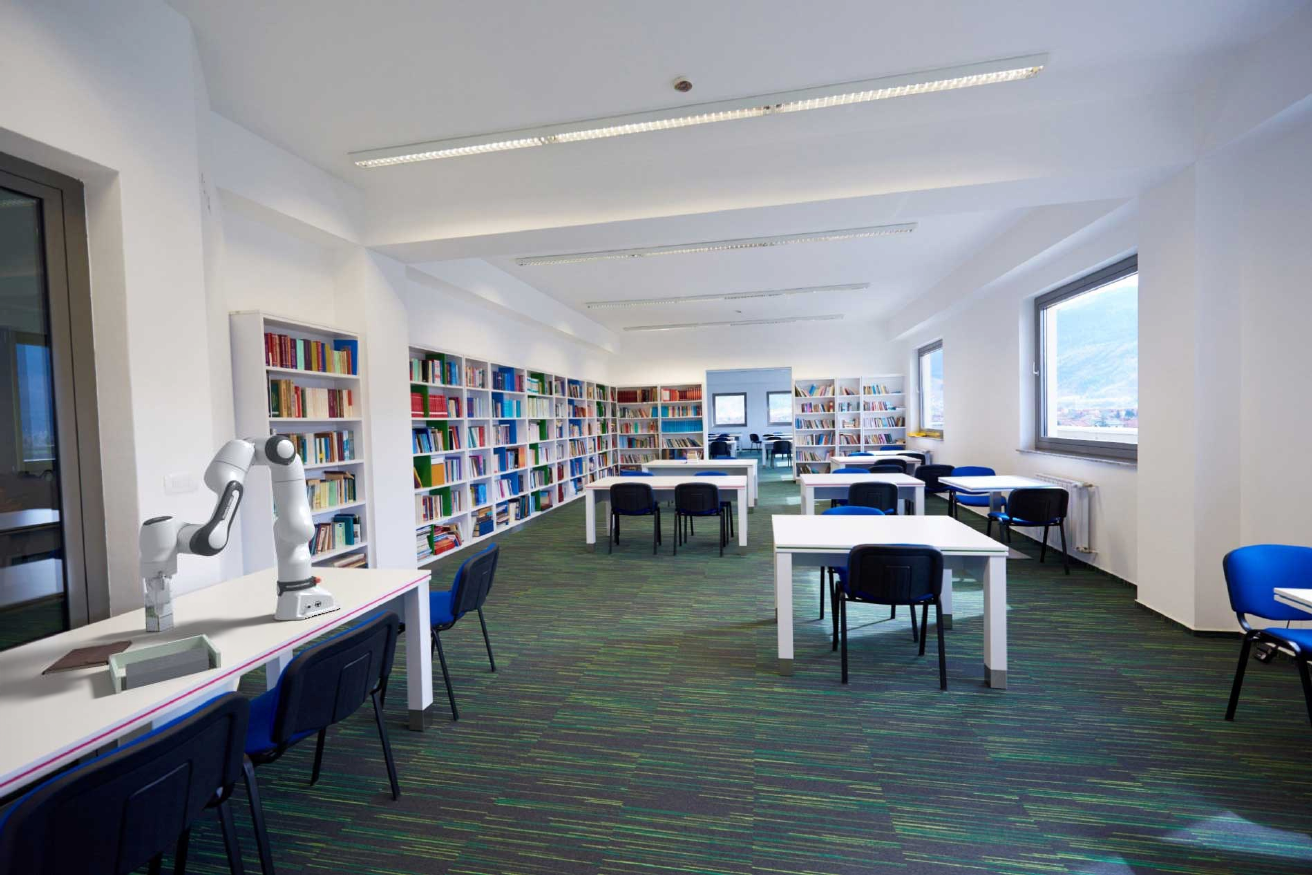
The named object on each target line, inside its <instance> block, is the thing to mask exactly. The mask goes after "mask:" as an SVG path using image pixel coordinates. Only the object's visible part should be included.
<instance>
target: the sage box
mask: <svg viewBox="0 0 1312 875" xmlns="http://www.w3.org/2000/svg"><path fill="white" fill-rule="evenodd" d="M202 647H204V649H205V651H206V654H207V656H208V658H209V660H210V661H211V663H212V664H213V665H214V667H215V668H216V669H218V668H222V657H221V656H222V655H221V651H220V650H219V649H218V648H217V646H216V645H215V644H214V643H213V642H212V641H211V639H210V638H209V637H208V635H207V634H206V633H203V634H199V635H196V636H195V635H194V636H190V637H187V638H182V639H178V640H172V641H168V642H164V643H159V644H153V645H150V646H145V647H141V648H136V649H132V650H128V651H126V650H125V651H124V652H122V653H117V654H113V655H109V665H108V668H109V669H108V670H109V674H110V676H111V677H110V678H111V681H112V683H113V687H114V691H115V694H116V695H117V694H122V676H121V673H120V669H124V668H125V664H129V663H134V662H138V661H143V660H147V659H152V658H156V657H161V656H166V655H170V654H175V653H179V652H184V651H188V650H193V649H197V648H202Z"/></svg>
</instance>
